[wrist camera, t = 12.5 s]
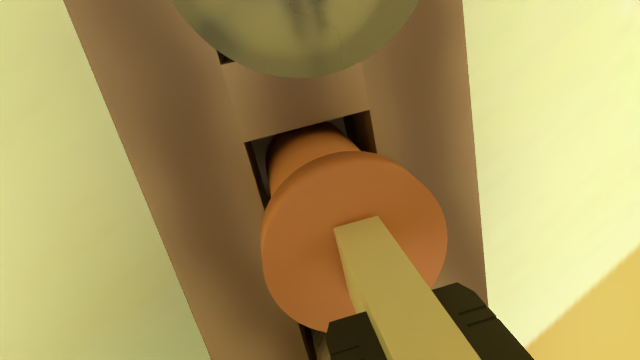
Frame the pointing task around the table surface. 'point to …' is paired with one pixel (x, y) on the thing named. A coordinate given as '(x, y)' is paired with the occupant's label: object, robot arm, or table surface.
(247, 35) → the plunger
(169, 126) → the brown wooden block
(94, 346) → the table surface
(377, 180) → the plunger
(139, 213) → the table surface
